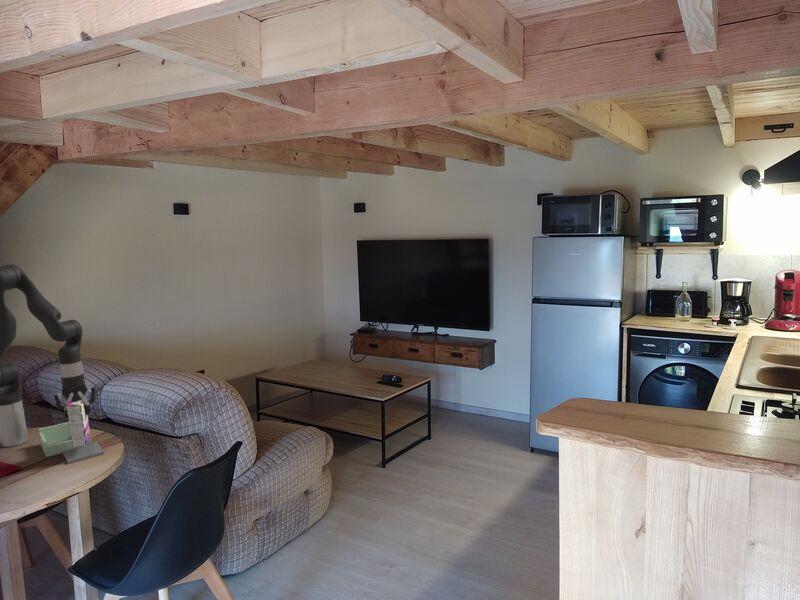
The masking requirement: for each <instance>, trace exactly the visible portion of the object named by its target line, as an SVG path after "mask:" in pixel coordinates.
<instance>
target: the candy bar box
mask: <svg viewBox="0 0 800 600" xmlns="http://www.w3.org/2000/svg"><path fill="white" fill-rule="evenodd" d="M84 397H85V398H86V395H84ZM67 413H68V419H67V420H68V422H69V426H70V432H71V439H70V440H72V446H73V448H76V447H82V446H87V443H88V441H89V438H90V436H91V435H92V433H91V434H90V431H91V428H90V421H89V415H86V410H85V403H84V401H83V400H82V399H80V400H75V401H71V402H70V404H68V405H67Z"/></svg>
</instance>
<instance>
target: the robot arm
mask: <svg viewBox="0 0 800 600" xmlns="http://www.w3.org/2000/svg"><path fill="white" fill-rule="evenodd" d="M14 289H17V290H18V291H20V292H22V293H23V295H24V296H25V300H26V306H27V308H28V311H29V312H30V314H31V315H32V316H34V317H35V318H36V319H37V320H38V321H39V323H41V324H42V325H43V327H44V329H45V330H46V332H47V334H48V335H49V337H50V338H51V339H52V340H53V341H56V342H59V343H63V342H65V344H64V345H63V346H62V347H60V348H59V349H58V351H57V353H58V363H59V375H60V383H61V392H58V393H54V394H53V399H54V403H55V404H56V407H57V409H58V410H59V411H63V412H64V414H63V415H64V417H65V419H67V420H68V413H67V405H68V404H70V402H71V401H75V400H80V399H82V400H83V401H84V403H85V410H86V415H88V416H89V415H90V414H91V406H90V405H92V404H94V403H95V402H96V387H95V386H93V385H92V386H90V387H89V386H87V385H86V380H85V373H84V372H85V371H84V366H83V362H82V357H81V356H82V355H81V345H82V337H83V328H82V325H81V324H80V322H79V321H78V320H76V319H68V320H64V321H60V319H61V318H62V313H61V312H60V310H59V309H58V308H56V306H54V305H53V304H52V303H51V302H50V301H49V300H48V299H47V298H45V297H44V296H43V294H42V293H41V292H40V291H39V290H38V288H37V287H36V285H35V284H34V283H33V281H31V279H30V278H29V276H28V275H27V274H26V273H25V272H24V270H23V269H22V268H21V267H19V266H18V265H16V264H13V263H12V264H11V263H10V264H5V265H0V388H4V387H5V389H4V390H3V391H1V392H0V446H1V447H3V448H8V447H9V448H10V447H15V446H19V445H22V444H25V443H26V442H27V441H29V437H28V429H27V424H26V417H25V411H24V404H23V403H24V402H23V398H22V393H23V392H22V390H23V389H22V384H21V383H22V382H21V371H20V368H19V366H18V364H17V362H14V361H7V362H1V361H2V358H3V356H4V354H5V353H6V352H7V350H8V349H9V348H10V346H11V345H12V344H13V342H14V341H15V339H16V336H17V318H16V316H15V315H14V314H13V313H12V312H11V310H10V309H9V308H8V307H7V305H6V303H5V292H6V291H10V290H14ZM87 391H88V392H89V393H90V396H89V400H88V399H87V397H86V395H85V394H86V393H87ZM62 396H63V398H65V401H64V404H63V405H62V403H61V402H60V401H61V398H62ZM84 396H85V397H84Z"/></svg>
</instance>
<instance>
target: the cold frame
mask: <svg viewBox="0 0 800 600" xmlns="http://www.w3.org/2000/svg"><path fill="white" fill-rule="evenodd" d="M38 434H39V439H40V440H39V441H40V446H41V449H42V451H43V453H44V457H45V458H47V457H52V456H56V455H60V454H63V451H66V450H70V449H74V448H73V446H72V439H71V432H70V426H69V421H67V422H63V423H58V424H54V425H48V426H45V427H40V428H38ZM90 434H91V436H90V438H89V441H88V443H87V445H89V444H93V435H92V431H91V430H90ZM76 448H78V447H76Z"/></svg>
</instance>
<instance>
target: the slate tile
mask: <svg viewBox="0 0 800 600" xmlns="http://www.w3.org/2000/svg"><path fill="white" fill-rule="evenodd" d="M62 454H63V456H64V459H65V460H66V463H67V465H69V464H72V463H76V462H81V461H83V460H84V459H85V460H88V459H91V457H92V458H95V456H96V457H99V456H102V455H105V451H104V450H103V447H102V448H101V446H100V444H99V443H98V442H94V443H93V444H89V445H87V446H82V447H78V448H74V449H70V450H66V451H63V453H62Z"/></svg>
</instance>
